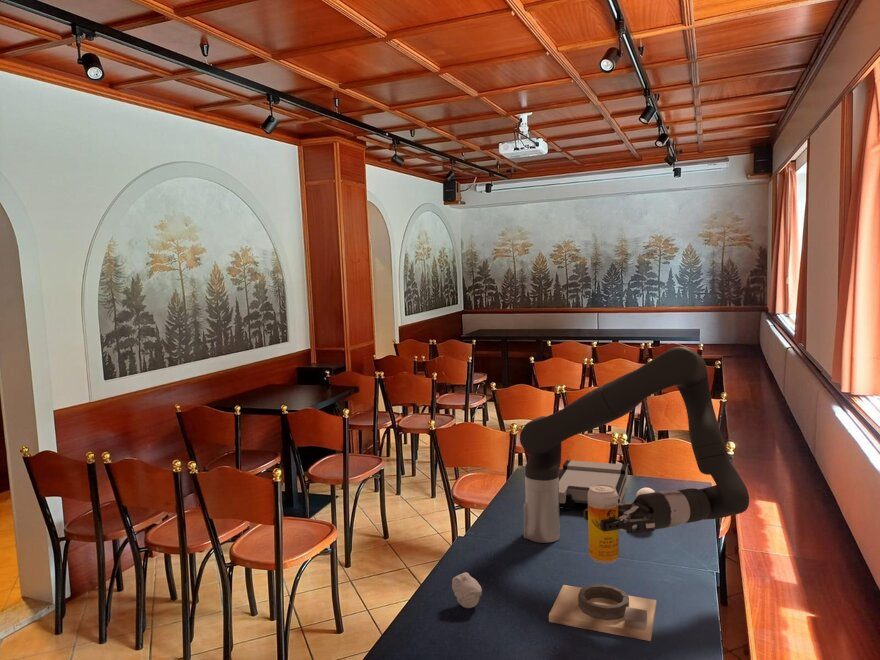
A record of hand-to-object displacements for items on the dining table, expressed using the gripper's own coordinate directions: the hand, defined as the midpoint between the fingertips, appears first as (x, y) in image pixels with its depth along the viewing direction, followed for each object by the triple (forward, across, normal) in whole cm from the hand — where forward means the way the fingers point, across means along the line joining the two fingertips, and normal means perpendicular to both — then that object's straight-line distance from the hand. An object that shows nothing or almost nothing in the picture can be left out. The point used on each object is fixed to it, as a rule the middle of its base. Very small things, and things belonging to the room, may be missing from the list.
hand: (592, 520), depth 129 cm
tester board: (-2, 0, +20) cm, 21 cm away
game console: (-36, -64, +21) cm, 77 cm away
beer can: (-2, 0, +9) cm, 9 cm away
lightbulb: (-40, -39, +21) cm, 60 cm away
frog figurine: (+24, -13, +20) cm, 34 cm away
